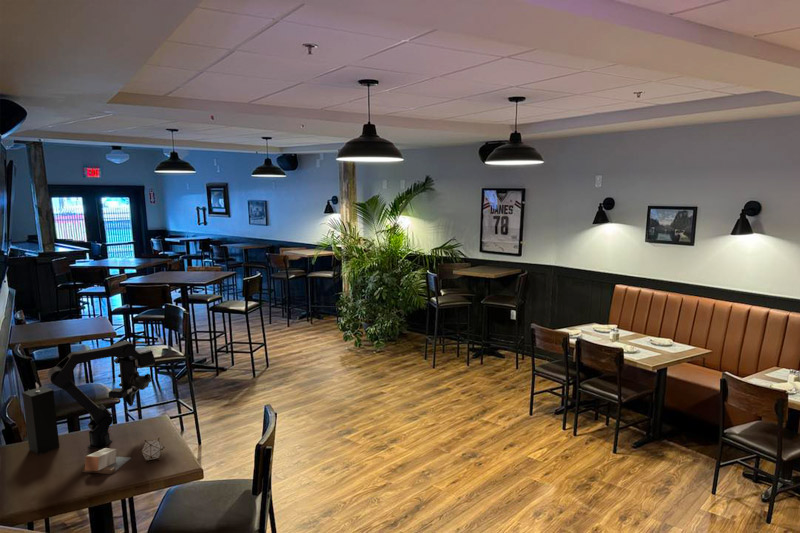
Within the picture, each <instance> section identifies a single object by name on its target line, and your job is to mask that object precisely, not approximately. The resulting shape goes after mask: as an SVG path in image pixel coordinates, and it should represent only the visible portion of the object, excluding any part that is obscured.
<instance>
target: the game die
mask: <svg viewBox="0 0 800 533" xmlns="http://www.w3.org/2000/svg"><path fill="white" fill-rule="evenodd" d="M160 439H161V438H160V437H158V438H157V439H153V440H148V441H147V440H146V439H144V442H145V443H144V445H143V447H142V449H141V450H140V451H139V454H142V456H143V458H144V460H145V461H144V463H146V462H148V461H151V460H158V461H161V458H160V457H161V454H162V452H163V450H164V449H165V448H166V447H165V446H163V445H162V443H161V441H160Z"/></svg>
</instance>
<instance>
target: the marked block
mask: <svg viewBox="0 0 800 533" xmlns="http://www.w3.org/2000/svg"><path fill="white" fill-rule="evenodd" d="M117 451H118V449H117V448H108V447H105V448H104V447H103V448H101V449H99V450H98V451H95V452H93V453H90V454H88V455H85V459H84V460H85V462H84V466H85V470H90V471H98V470H101V469H103V468H105V467H107V466H109V465H111V464H113V463H115V462H116V457H117V453H118V452H117Z"/></svg>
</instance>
